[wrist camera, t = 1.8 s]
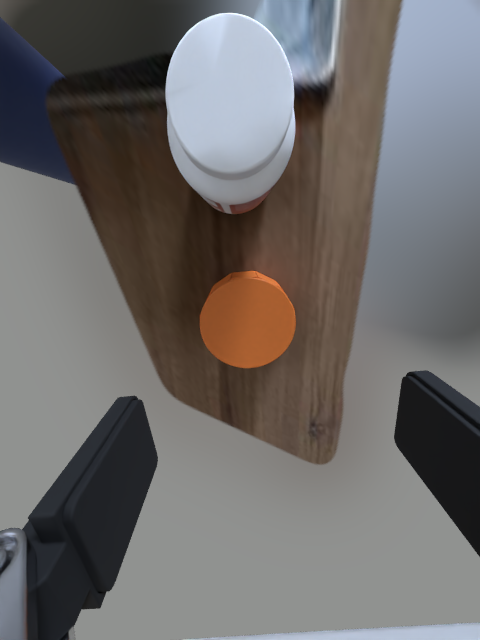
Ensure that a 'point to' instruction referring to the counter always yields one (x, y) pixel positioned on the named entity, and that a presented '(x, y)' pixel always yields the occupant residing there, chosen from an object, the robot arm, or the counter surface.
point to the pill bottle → (230, 111)
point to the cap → (247, 320)
